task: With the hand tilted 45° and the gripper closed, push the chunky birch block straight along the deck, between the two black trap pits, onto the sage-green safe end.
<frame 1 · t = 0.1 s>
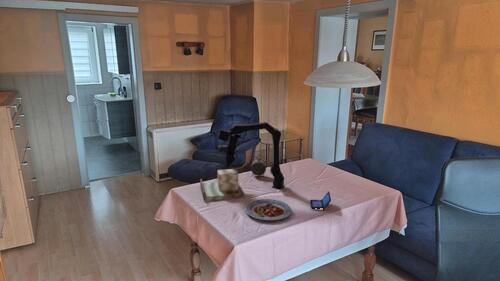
hand: (226, 165, 210), 15 cm above the table, tool pointing down, fingers open, 9 cm apart
alarm clock: (258, 176, 235), on the table
handheld game console: (320, 206, 190), on the table
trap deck: (223, 191, 207), on the table
birch block: (227, 187, 207), point 2 cm above the table, touching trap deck
ceramic plate: (268, 212, 181), on the table
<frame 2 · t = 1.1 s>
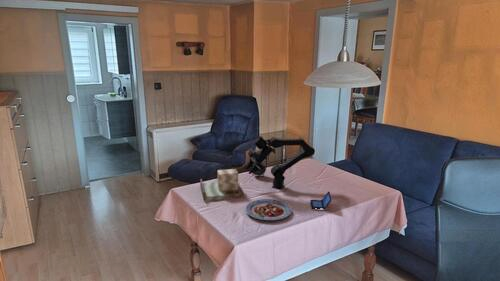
hand: (247, 171, 208), 13 cm above the table, tool tilted 45°, fingers open, 8 cm apart
nothing on the table moved.
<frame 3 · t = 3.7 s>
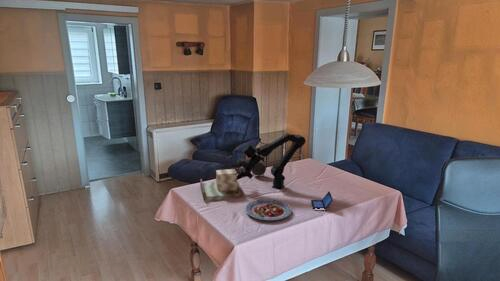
hand: (236, 179, 207), 8 cm above the table, tool tilted 45°, fingers closed, pressing on birch block
birch block: (226, 187, 207), point 3 cm above the table, touching gripper
everything else where it was.
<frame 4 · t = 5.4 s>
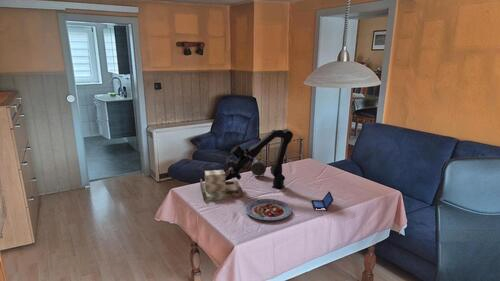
hand: (224, 180, 206), 8 cm above the table, tool tilted 45°, fingers closed, pressing on birch block
birch block: (215, 188, 205), point 3 cm above the table, touching gripper, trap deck
everything else where it was.
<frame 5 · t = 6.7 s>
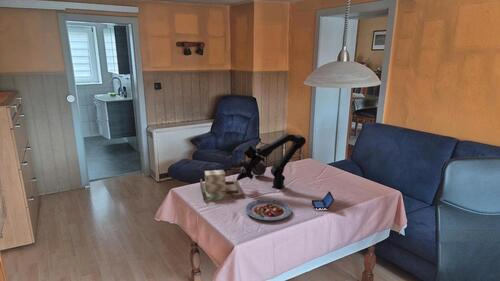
hand: (236, 180, 207), 7 cm above the table, tool tilted 45°, fingers closed
birch block: (215, 188, 205), point 2 cm above the table, touching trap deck
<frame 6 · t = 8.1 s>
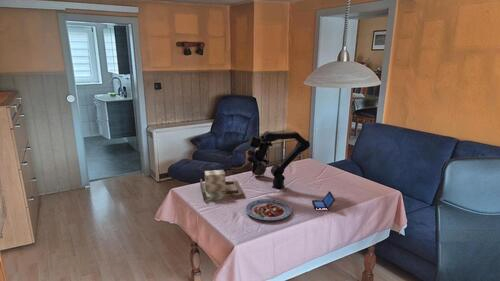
hand: (253, 172, 209), 12 cm above the table, tool tilted 20°, fingers closed
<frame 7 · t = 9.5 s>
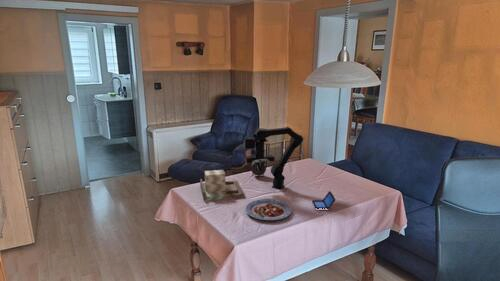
hand: (259, 171, 210), 12 cm above the table, tool pointing down, fingers closed
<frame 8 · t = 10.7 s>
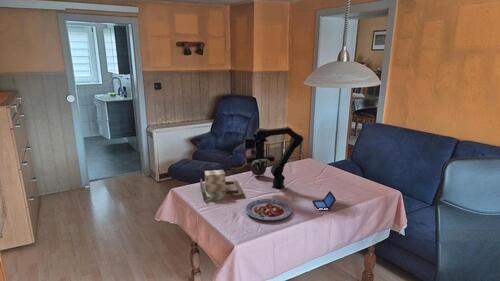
hand: (259, 171, 210), 12 cm above the table, tool pointing down, fingers closed
at the end: birch block inside the target area (0.7 cm from its centre), point 2.5 cm above the table; birch block tilted 0° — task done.
